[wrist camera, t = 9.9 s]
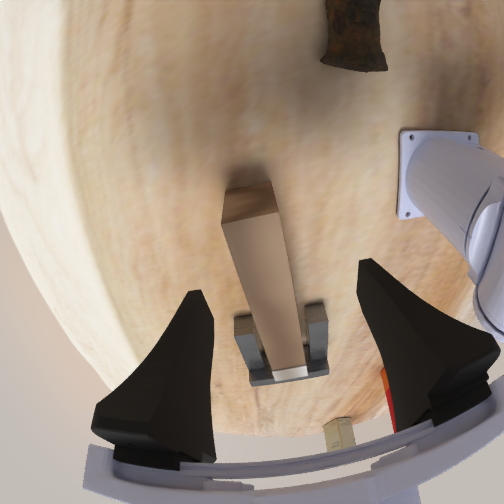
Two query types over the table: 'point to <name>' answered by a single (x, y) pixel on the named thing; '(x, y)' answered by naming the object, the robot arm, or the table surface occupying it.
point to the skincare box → (339, 434)
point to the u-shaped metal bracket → (313, 351)
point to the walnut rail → (265, 275)
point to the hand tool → (354, 36)
